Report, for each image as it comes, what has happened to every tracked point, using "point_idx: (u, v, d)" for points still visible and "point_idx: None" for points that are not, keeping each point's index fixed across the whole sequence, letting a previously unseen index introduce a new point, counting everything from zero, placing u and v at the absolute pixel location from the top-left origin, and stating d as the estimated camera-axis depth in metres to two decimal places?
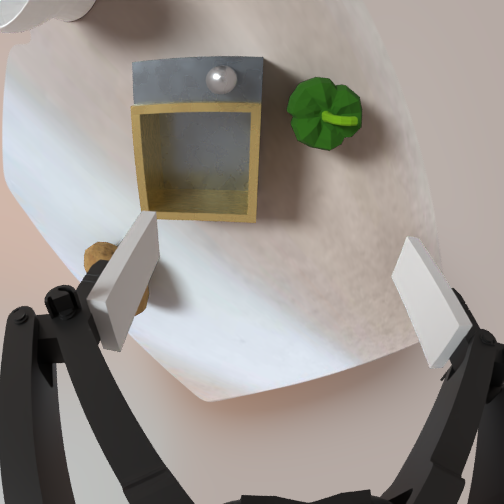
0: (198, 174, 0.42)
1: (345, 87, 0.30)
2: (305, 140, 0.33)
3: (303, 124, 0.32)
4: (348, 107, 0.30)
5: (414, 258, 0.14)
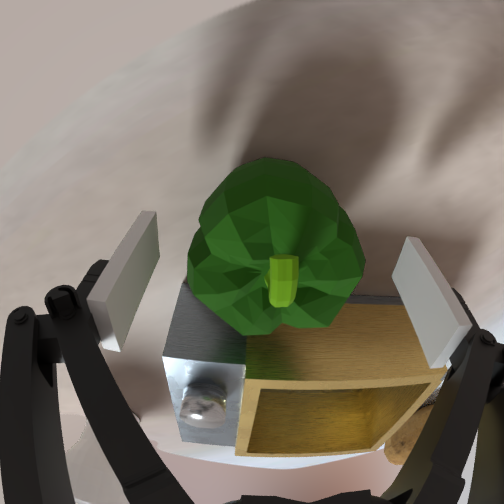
0: None
1: (201, 228, 0.13)
2: (330, 319, 0.15)
3: (294, 320, 0.15)
4: (251, 239, 0.12)
5: (414, 258, 0.14)
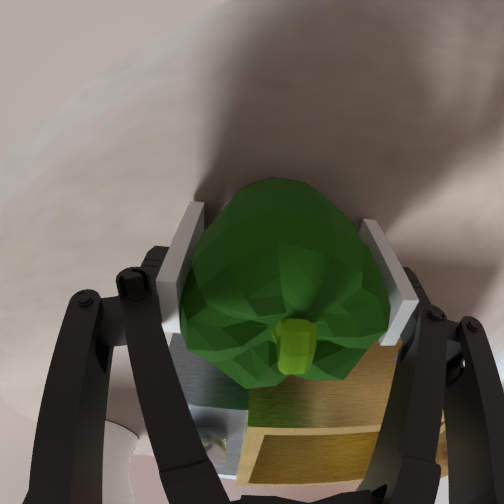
0: None
1: (195, 274, 0.11)
2: (346, 373, 0.12)
3: (305, 373, 0.13)
4: (257, 294, 0.10)
5: (368, 238, 0.16)
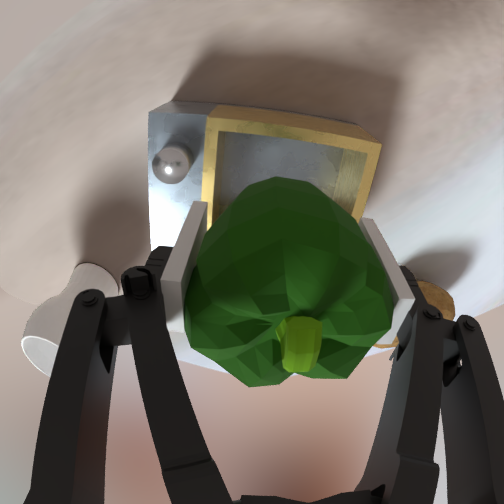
0: None
1: (199, 272, 0.11)
2: (349, 371, 0.12)
3: (308, 372, 0.13)
4: (262, 292, 0.10)
5: (365, 237, 0.16)
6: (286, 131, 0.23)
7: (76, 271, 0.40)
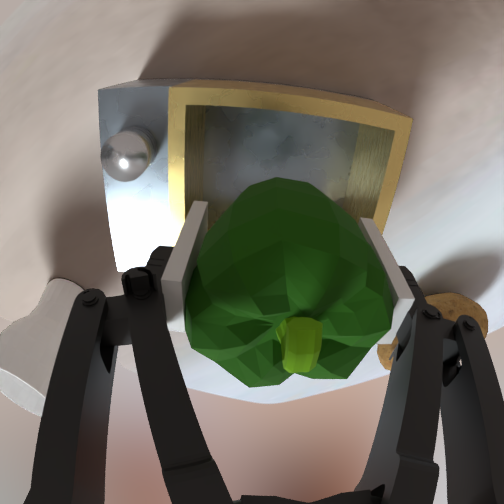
0: (321, 186, 0.26)
1: (200, 273, 0.11)
2: (349, 371, 0.12)
3: (308, 372, 0.13)
4: (263, 292, 0.10)
5: (365, 237, 0.16)
6: (280, 101, 0.16)
7: (47, 288, 0.33)
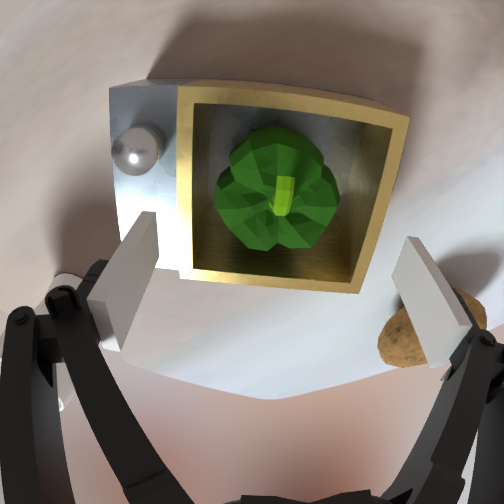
0: None
1: (230, 162, 0.19)
2: (313, 241, 0.21)
3: (287, 239, 0.21)
4: (264, 170, 0.18)
5: (414, 258, 0.14)
6: (284, 100, 0.17)
7: (53, 282, 0.34)
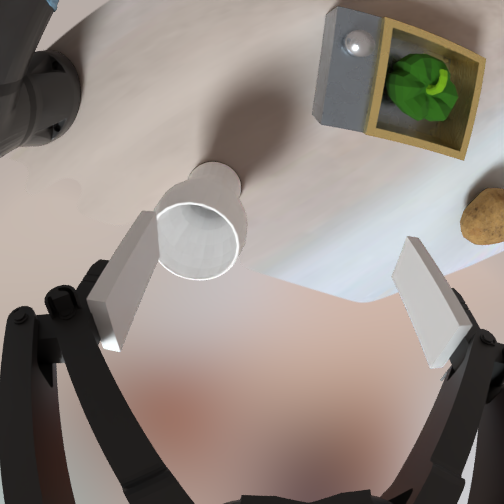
0: None
1: (406, 63, 0.27)
2: (446, 116, 0.29)
3: (433, 113, 0.29)
4: (427, 69, 0.26)
5: (414, 258, 0.14)
6: (434, 37, 0.24)
7: (200, 168, 0.42)
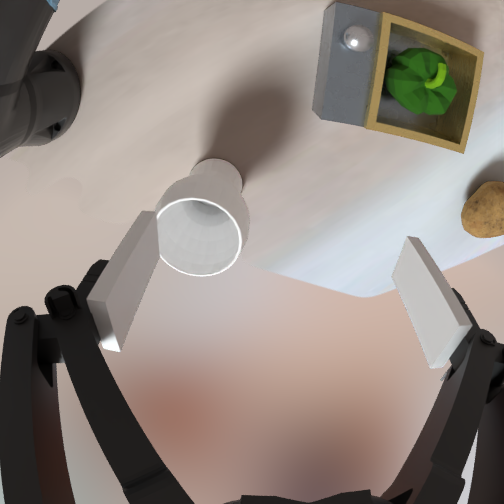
0: None
1: (405, 58, 0.27)
2: (445, 109, 0.29)
3: (432, 106, 0.29)
4: (426, 63, 0.26)
5: (414, 258, 0.14)
6: (432, 32, 0.24)
7: (201, 165, 0.42)
